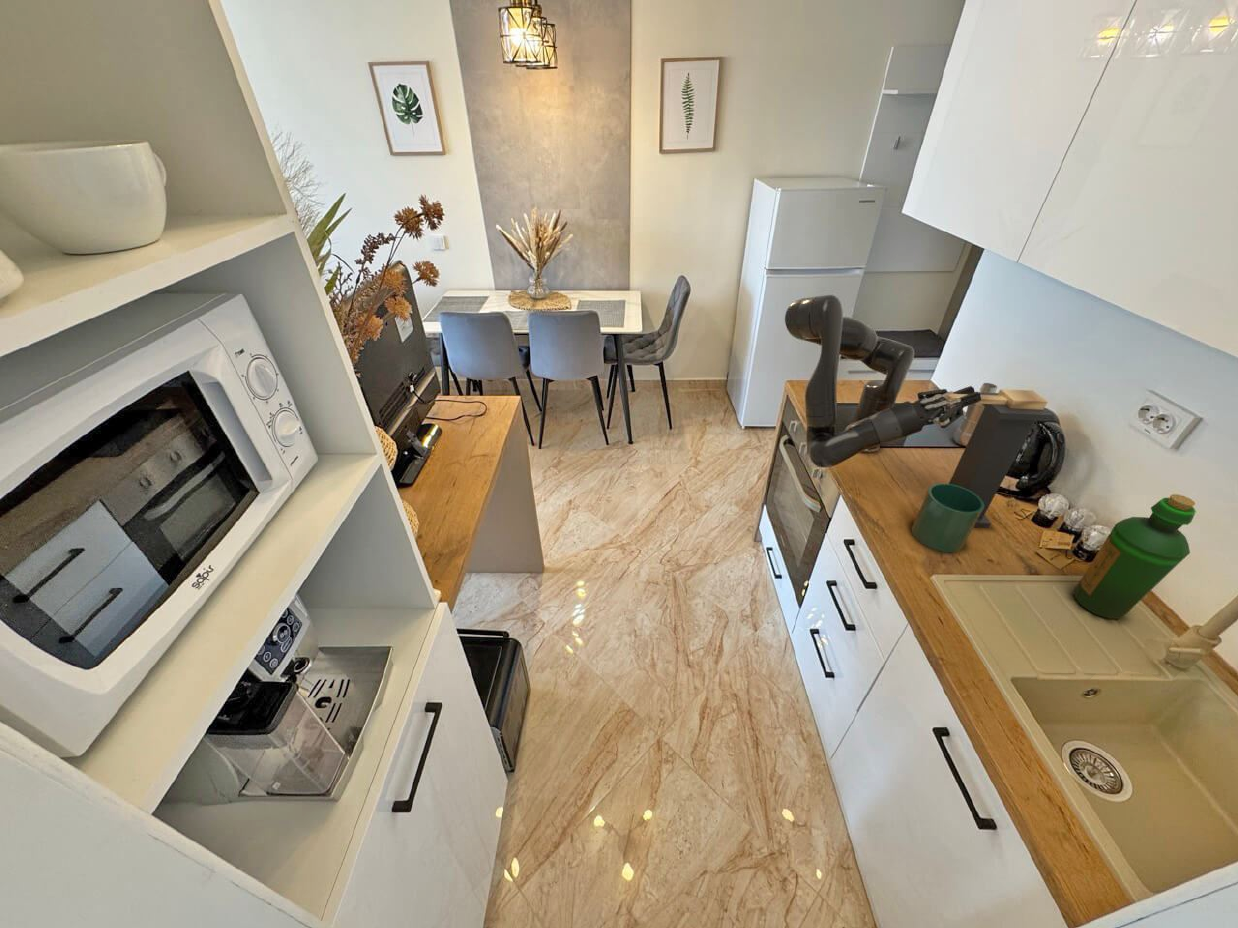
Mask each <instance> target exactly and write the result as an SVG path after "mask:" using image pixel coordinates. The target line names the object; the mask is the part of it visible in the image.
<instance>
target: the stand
mask: <svg viewBox="0 0 1238 928" xmlns="http://www.w3.org/2000/svg"><path fill="white" fill-rule="evenodd" d="M978 392H979V393H980V395H996V396H997V395H998V393H999V392H995V393H985V392H980V391H978ZM982 405H983V406H984V407H985V408H984V410H983V412H982V414H981V416H980V418H979V420H978V422H977V425H976V427H975V429H974V431H973V433H972V435H971V437H970V439H969V442H968V444H967V446H965V448H964V451H963V452H962V454H961V456H960V458H959V460H958V463H957V465H956V467H955V469H954V472H953V473H952V476H951V478H950V480H949V482H948V484H953V485H958V486H961V487H963V488H966V489H968V490H970V491H972V492H974V493H975V494H976V495H978V496H979V497H980V498H981V500H982V501H983V503H984V508H983V510H982V512H981V514H980V516H979V518H978V520H977V522H976V523H975V525H974V527H973V528H986V529H989V528H990V526H991V525H992V522H991V521H990V520H989V519H988V517H987V516H986V515H985V514H986V513H987V511H988V509H989V507H990V505H991V503H992V502H993V500H994V498H995V496H996V494H997V493H998V491H999V489H1000V487H1001V485H1002V483H1003V481H1004V480H1005V478H1006V475H1007V474H1008V472H1009V471H1010V468H1011V467H1012V465H1013V463H1014V462H1015V459H1016V457H1017V456H1018V453H1019V452H1020V450H1021V448H1022V446H1023V444H1024V443H1025V441H1026V440H1027V437H1028V435H1029V433H1030V432H1031V429H1032V428H1033V426H1034V424H1035V422H1052V421H1053V419H1054V417H1055V414H1053V413H1052V412H1051V411H1050V410H1048V409H1047V408H1046V407H1045V408H1044V410H1035V409H1013V408H1009V407H1008V406H1006V405H998V404H982Z"/></svg>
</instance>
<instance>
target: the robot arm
mask: <svg viewBox="0 0 1238 928" xmlns="http://www.w3.org/2000/svg"><path fill="white" fill-rule="evenodd" d="M784 324H785V327H786V329H787V331H788V333H789V334H790V335H791V336H792V337H793V338H795V339H796V340H800V341H804V342H808V343H813V344H816V345H819V346H821V350H820V356H819V359H818V361H817V365H816V367H815V368H814V371H813V373H812V374H811V376H810V378H809V380H808V382H807V385H806V387H805V393H804V411H805V418H806V436H805V437H806V441H805V442H806V443H805V444H806V451H807V453H808V456H809V459H810V461H811V462H812V464H813V465H815V466H816V467H819V468H831V467H834V466H837V465H841V464H842V463H844V462H845V461H847V460H849V459H851V458H853V457H854V456H856V455H857V454H859V453H868V454H869V453H875V452H878V451H879V449H880V447H881V445H884V444H888V443H892V442H895V441H897V440H900V439H903V438H906V437H909V436H912V435H914V434H918V433H920V432H921V431H922V430H923V428H924V427H925V426H931V425H934V424H936V425H939V426H940V428H941V429H946V428H948V427H949V426H950V425H951V424H953V423H954V422H955V421H957V420H958V419H960V418H961V417H962V416H964V415H965V414H964V408H966V407H968V406H969V405H972V404H974V403H977V402H979V401H980V400H981V396H980V393H979V392H980V391H975V388H974V387H973V386H972V385H969V386H966V387H963V388H961V389H958V390H955V391H951V390H950V391H948V389H946V388H941V389H934V390H927V391H921V392H917V395H916V396H917V400H915V401H914V402H913V403H912V402H911V401H909V400H907V401H904V402H901V403H899V404H896V400H897V397H898V395H899V393H900V392H901V390H902V388H903V385H904V384H905V380H906V378H907V377H908V373H909V371H910V369H911V366H912V364H913V361H914V359H915V358H914V357H915V349H914V348H913V346H911V345H908V344H905V343H903V342H900V341H897V340H893V339H890V338H886V337H881V336H878V335H877V331H876V330H875V329H874V328H873V327H872V326H871V325H868V324H867V323H865V322H863V321H862V320H859V319H857V318H853V317H847V316H844V311H843V305H842V303H841V301H840V299H839V297H837V296H836V295H834V294H826V295H825V294H823V295H817V296H810V297H804V298H800V299H797V300H794V301H793V302H792V303H791V304H790V305H789V306H788V307H787V309H786V311H785V315H784ZM840 356H842V357H843V358H846V359H848V360H852V361H860V362H861V363H863V364H864V365H865V366H866V367H867V368H869V369H870V370H872V371H874V372H877V373H880V374H882V375H884V376H886V377H885V378H884V379H874V380H868V381H867V382H865V384H864V385H863V388H862V391H861V395H860V398H859V401H858V405H857V407H856V411H855V415H854V418H853V421H852V423H850V424H849V425H847V426H846V427H845V428H844V430H843V431H842V432H839V433H837V434H836V423H837V422H838V397H837V382H838V381H837V380H838V370H839V364H840V363H839V362H840ZM947 393H950V394H969V395H966V396H963V397H961V398H960V399H955V400H952V401H949V402H948V401H947V400H946V399H945V396H946V394H947ZM895 404H896V405H895Z"/></svg>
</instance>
